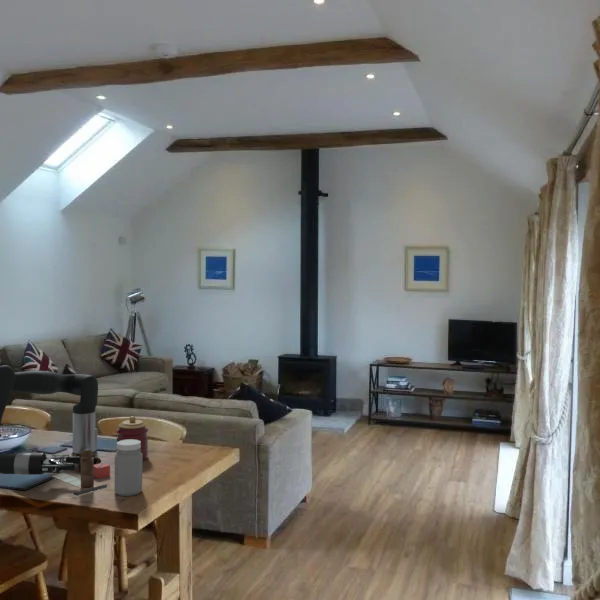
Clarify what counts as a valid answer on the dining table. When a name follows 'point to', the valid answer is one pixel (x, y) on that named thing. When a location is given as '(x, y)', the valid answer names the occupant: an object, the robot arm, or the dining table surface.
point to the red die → (101, 470)
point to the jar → (128, 468)
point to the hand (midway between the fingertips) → (77, 463)
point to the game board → (77, 483)
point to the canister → (134, 433)
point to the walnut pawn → (87, 469)
